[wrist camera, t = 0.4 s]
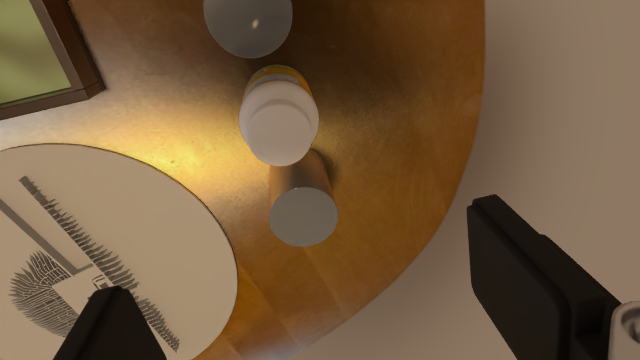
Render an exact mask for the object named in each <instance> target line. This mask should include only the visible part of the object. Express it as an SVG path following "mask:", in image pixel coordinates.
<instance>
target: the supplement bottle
mask: <svg viewBox="0 0 640 360" xmlns="http://www.w3.org/2000/svg"><path fill="white" fill-rule="evenodd" d="M239 127H240V131H241V134H242V136H243V138H244V140H245V142H246V143H247V144H248V146H249V147H250V149H251V151H252V152H253V154H254V155H255V156H256V157H257V158H258V159H259V160H261V161H262V162H264V163H266V164H269V165H273V166H287V165H291V164H293V163H295V162H297V161H299V160H300V159H301V158H302V157H303V156H304V155H305V154H306V153H307V152H308V150H309V148H310V146H311V143H312V142H313V141H314V139H315V137H316V134H317V131H318V127H319V115H318V110H317V107H316V104H315V101H314V98H313V95H312V93H311V90H310V88H309V85H308V83H307V82H306V80H305V79H304V77H303V76H302V75H301V74H300V73H299V72H297V71H296V70H294V69H293V68H290V67H288V66H284V65H270V66H266V67H264V68H262V69H260V70H258V71H257V72H256V73H255V74H254V75H253V76H252V77H251V78H250V80H249V81H248V83H247V85H246V88H245V91H244V95H243V99H242V103H241V107H240V113H239Z"/></svg>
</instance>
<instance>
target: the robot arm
mask: <svg viewBox="0 0 640 360" xmlns="http://www.w3.org/2000/svg"><path fill="white" fill-rule="evenodd" d="M467 224H468V238H469V255H470V270H471V283H472V288H473V291H474V293H475V295H476V297H477V299H478V300H479V302H480V303H481V304H482V306H483V308H484V309H485V311H486V312H487V314H488V315H489V317H490V318H491V320H492V322H493V323H494V325H495V326H496V328H497V329H498V331H499V332H500V334H501V335H502V337H503V338H504V340H505V341H506V343H507V344H508V346H509V347H510V349H511V350H512V352H513V353H514V355H515V357H516V358H517V360H640V301H630V302H628V303H624V304H622V303H621V302H620V301H618V300H617V299H616V298H615V297H614V296H613V295H612V294H611V293H609V292H608V291H607V290H606V289H605V288H604V287H603V286H602V285H601V284H599V283H598V282H597V281H596V280H595V279H594V278H593V277H592V276H591V275H590V274H589V273H587V272H586V271H585V270H584V269H583V268H582V267H581V266H580V265H578V264H577V263H576V262H575V261H574V260H573V259H572V258H571V257H570V256H569V255H568V254H566V253H565V252H564V251H563V250H562V249H561V248H560V247H559V246H558V245H556V244H555V243H554V242H553V241H552V240H550V238H548V237H547V236H546V235H542V234H539V233H538V232H536V231H535V230H534V229H533V228H532V227H531V226H530V225H529V224H528V223H527V222H526V221H525V220H524V219H522V218H521V217H520V216H519V215H518V214H517V213H516V212H515V211H514V210H513V209H512V208H511V207H509V206H508V205H507V204H506V203H505V202H504V201H503V200H502V199H501V198H500V197H499V196H497V195H495V194H493V195H489V196H485V197H481V198H477V199H474V200H473V202H472V205H471V206H468V207H467ZM53 360H167V358H166V355H165V353H164V352H163V350H162V348H161V346H160V344H159V343H158V341H157V339H156V337H155V335H154V334H153V332H152V330H151V328H150V326H149V325H148V323H147V321H146V319H145V317H144V316H143V314H142V312H141V310H140V308H139V307H138V305H137V303H136V301H135V299H134V298H133V296H132V294H131V292H130V291H129V290H128V289H123V288H122V287H121V286H119V285H115V286H111V287H107V288H103V289H99V290H96V291H94V293H93V294H92V295H91V297H90V299H89V300H88V302H87V304H86V305H85V307H84V309H83V310H82V312H81V314H80V315H79V317H78V318H77V320H76V322H75V323H74V325H73V327H72V328H71V330H70V332H69V333H68V335H67V337H66V338H65V340H64V342H63V343H62V345H61V347H60V348H59V350H58V351H57V353H56V355H55V356H54V358H53Z"/></svg>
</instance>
